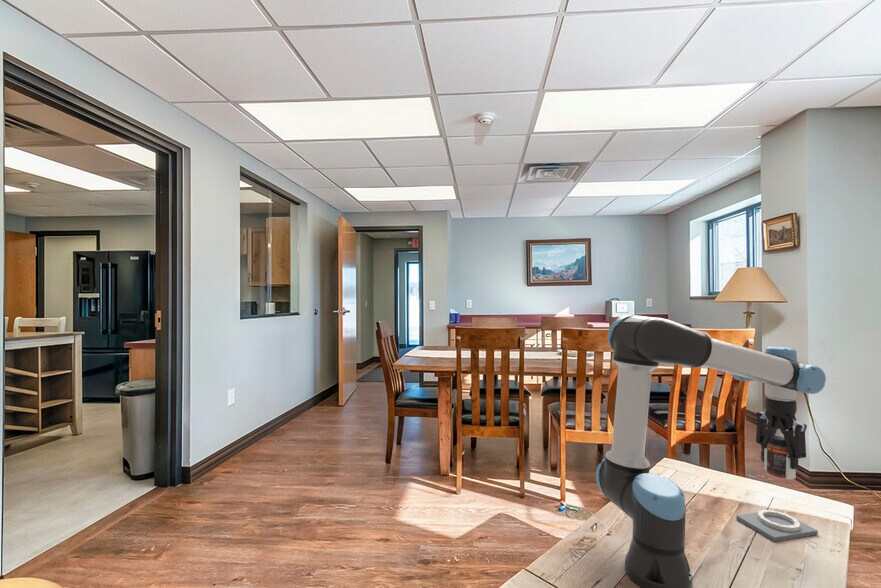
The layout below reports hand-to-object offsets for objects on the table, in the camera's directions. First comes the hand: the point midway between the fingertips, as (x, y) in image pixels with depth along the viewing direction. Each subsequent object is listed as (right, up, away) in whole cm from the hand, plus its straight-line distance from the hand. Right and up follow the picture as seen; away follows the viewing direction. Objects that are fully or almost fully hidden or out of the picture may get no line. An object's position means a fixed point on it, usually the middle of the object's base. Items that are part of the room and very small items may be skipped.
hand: (779, 473), depth 129 cm
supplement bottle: (0, 0, 0) cm, 1 cm away
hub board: (-1, -16, 0) cm, 16 cm away
